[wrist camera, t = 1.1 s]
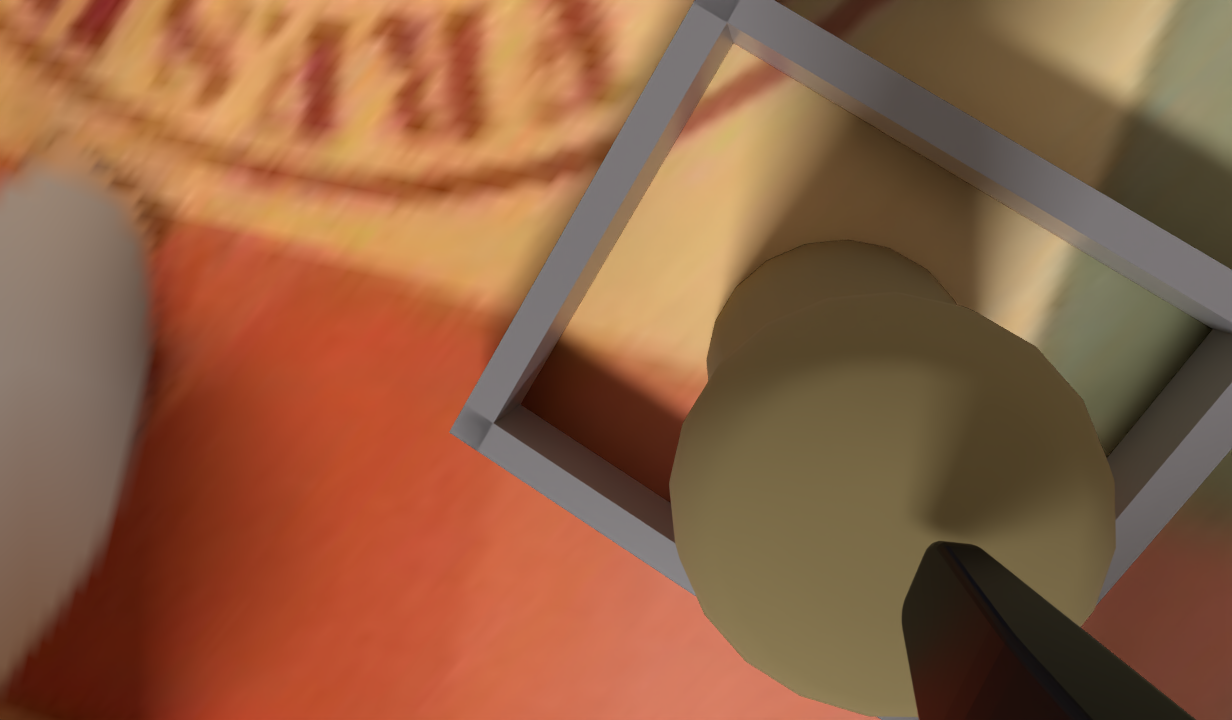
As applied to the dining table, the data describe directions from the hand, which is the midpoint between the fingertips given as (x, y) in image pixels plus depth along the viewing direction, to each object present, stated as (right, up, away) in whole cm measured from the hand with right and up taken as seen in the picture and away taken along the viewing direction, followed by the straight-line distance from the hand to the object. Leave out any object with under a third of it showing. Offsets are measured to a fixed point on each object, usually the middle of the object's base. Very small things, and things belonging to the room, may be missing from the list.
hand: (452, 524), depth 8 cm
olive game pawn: (+7, +1, +12) cm, 14 cm away
